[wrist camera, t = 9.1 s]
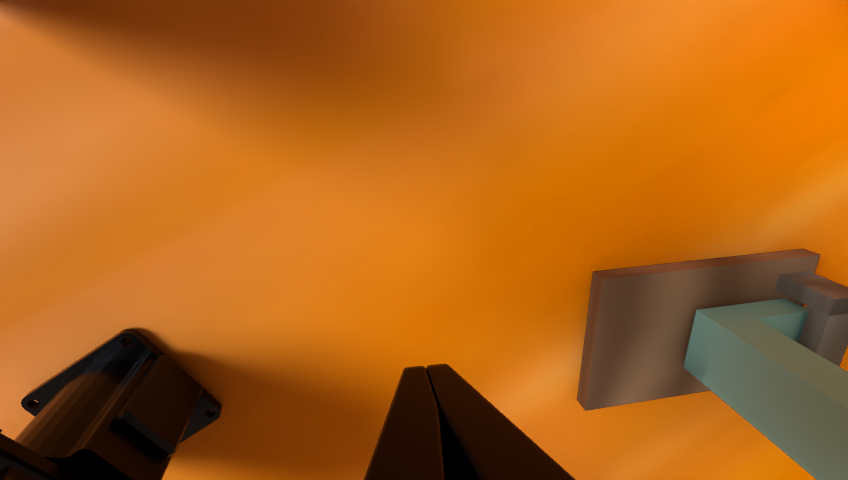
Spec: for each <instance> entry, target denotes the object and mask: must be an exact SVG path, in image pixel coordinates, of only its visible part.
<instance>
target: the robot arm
mask: <svg viewBox="0 0 848 480" xmlns="http://www.w3.org/2000/svg"><path fill="white" fill-rule="evenodd" d="M125 338H130V339H131V340H132V341H133V342H128V341H126V339H125ZM34 400H36V401H38V402H36V401H34ZM21 405H22V407H23V408H24V409H25V410H26V411H28V412H29V413H31V414H32V415H34V416H35V418H34V419H33V420H32V421H31V422H30V423H29V424H28V426H27V427H26V428H25V429H24V430H23V431H22V432H21V433H20V434H19V435H18V437H17V438H16V439H15V440H12V439H10V438H8V437H6V436H5V435H3V434H1V431H2V430H1V429H0V480H162V478H163V476H164V473H165V471H166V469H167V467H168V464H169V462H170V460H171V458H172V456H173V454H174V453H175V452H176V450H177V447H178V445H179V443H181V442H182V441H184V440H185V439H187V438H189V437H190V436H192V435H193V434H195V433H196V432H198V431H199V430H201V429H203V428H204V427H206V426H207V425H209V424H210V423H212V422H213V421H215V420H216V419H218V418H219V416H220V414H221V411H222V405H221V404H220V403H219V402H218V401H217V400H216V399H215V398H214V397H212V396H211V395H210V394H209V393H208V392H207V391H206V390H205V389H203V388H202V386H201V385H199V384H198V383H197V382H196V381H195V380H194V379H193V378H192V377H190V376H189V375H188V374H187V373H186V372H185V371H184V370H182V369H181V368H180V367H179V366H178V365H177V364H176V363H174V362H173V361H172V360H171V359H170V358H169V357H167V356H166V355H165V354H164V353H162V352H161V351H160V350H159V349H158V348H157V347H156V346H154V345H153V344H152V343H151V342H150V341H149V340H148V339H147V338H145V337H144V336H143V335H142V334H141V333H140V332H138V331H137V330H134V329H125V330H123V331H121V332H120V333H118V334H117V335H115V336H114V337H112V338H111V339H109V340H107V341H106V342H104V343H103V344H101V345H100V346H98V347H97V348H95V349H94V350H92V351H91V352H89V353H88V354H86V355H85V356H83V357H82V358H80V359H79V360H77V361H76V362H74V363H73V364H71V365H70V366H68V367H67V368H65V369H64V370H62V371H61V372H59V373H58V374H56V375H55V376H53V377H52V378H50V379H49V380H47V381H46V382H44V383H43V384H41V385H40V386H38V387H37V388H35V389H34V390H32V391H31V392H29V393H28V394H27V395H26V396H25V397H24V398H23V399H22V402H21ZM208 410H213V411H214V412H210V411H208ZM364 480H575V479H574V478H573V477H572V476H571V475H570V474H569V473H568V472H566V471H565V470H564V469H563V468H562V467H561V466H560V465H559V464H558V463H556V462H555V461H554V460H553V459H552V458H551V457H550V456H549V455H548V454H546V453H545V452H544V451H543V450H542V449H541V448H540V447H539V446H538V445H536V444H535V443H534V442H533V441H532V440H531V439H530V438H529V437H528V436H526V435H525V434H524V433H523V432H522V431H521V430H520V429H519V428H518V427H517V426H515V425H514V424H513V423H512V422H511V421H510V420H509V419H508V418H507V417H505V416H504V415H503V414H502V413H501V412H500V411H499V410H498V409H497V408H495V407H494V406H493V405H492V404H491V403H490V402H489V401H488V400H487V399H485V398H484V397H483V396H482V395H481V394H480V393H479V392H478V391H477V390H475V389H474V388H473V387H472V386H471V385H470V384H469V383H468V382H467V381H466V380H464V379H463V378H462V377H461V376H460V375H459V374H458V373H457V372H456V371H454V370H453V369H452V368H451V367H450V366H449V365H447V364H436V365H428V366H427V367H426V368H425V367H424V366H415V367H406V368H404V370H403V372H402V375H401V378H400V380H399V383H398V386H397V389H396V391H395V394H394V397H393V400H392V403H391V405H390V408H389V411H388V414H387V416H386V419H385V422H384V425H383V427H382V430H381V433H380V436H379V439H378V441H377V444H376V447H375V450H374V452H373V455H372V458H371V461H370V464H369V466H368V469H367V472H366V475H365V477H364Z"/></svg>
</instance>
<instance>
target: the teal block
mask: <svg viewBox="0 0 848 480" xmlns="http://www.w3.org/2000/svg"><path fill="white" fill-rule="evenodd" d="M809 310H810V306H808V307H801V306H799V305H797V304H795V303H793V302H791V301H789V300H787V299H785V298H784V299H776V300H769V301H761V302H753V303H745V304H738V305H730V306H722V307H714V308H707V309H699V310H696V314H695V318H694V323H693V327H692V332H691V336H690V340H689V345H688V349H687V353H686V358H685V362H684V368H685V369H686V370H687V371H689V372H690V373H691V374H692V375H693V376H695V377H696V378H697V379H698V380H699V381H700V382H702V383H703V384H704V385H705V386H706V387H708V388H709V389H710V390H711V391H712V392H713V393H715V394H716V395H717V396H718V397H719V398H721V399H722V400H723V401H724V402H725V403H727V404H728V405H729V406H730V407H731V408H732V409H734V410H735V411H736V412H737V413H738V414H740V415H741V416H742V417H743V418H744V419H745V420H747V421H748V422H749V423H750V424H751V425H753V426H754V427H755V428H756V429H757V430H758V431H760V432H761V433H762V434H763V435H764V436H766V437H767V438H768V439H769V440H770V441H772V442H773V443H774V444H775V445H776V446H777V447H779V448H780V449H781V450H782V451H783V452H785V453H786V454H787V455H788V456H789V457H790V458H792V459H793V460H794V461H795V462H796V463H798V464H799V465H800V466H801V467H802V468H803V469H805V470H806V471H807V472H808V473H809V474H811V475H812V476H813V477H814V478H815V479H816V480H848V372H847V371H846V370H844V369H842V368H840V367H839V366H837V365H835V364H833V363H832V362H830V361H828V360H827V359H825V358H823V357H821V356H820V355H818V354H816V353H814V352H813V351H811V350H809V349H808V348H806V347H804V346H802V345H801V344H799V343H798V342H799V339H800V337H801V334H802V331H803V328H804V325H805V322H806V319H807V316H808V313H809Z"/></svg>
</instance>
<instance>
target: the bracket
mask: <svg viewBox="0 0 848 480" xmlns="http://www.w3.org/2000/svg"><path fill="white" fill-rule="evenodd" d="M819 257H820V255H819V254H816V253H814V252H811V251H808V250H805V249H797V250H788V251H778V252H769V253H760V254H751V255H742V256H732V257H723V258H714V259H705V260H696V261H686V262H677V263H668V264H659V265H650V266H640V267H631V268H622V269H613V270H604V271H594V272H593V276H592V284H591V292H590V300H589V308H588V316H587V324H586V332H585V340H584V348H583V356H582V364H581V372H580V380H579V388H578V396H577V400H578V402H579V403H580V404H581V406H582V407H583V408H584V410H585V411H587V410H593V409H599V408H605V407H611V406H618V405H624V404H630V403H636V402H642V401H648V400H654V399H661V398H667V397H673V396H679V395H685V394H691V393H697V392H704V391H710V389H709V388H708V387H706V386H705V385H704V384H703V383H702V382H700V381H699V380H698V379H697V378H696V377H695V376H693V375H692V374H691V373H690V372H689V371H687V370H686V369H685V368H684V362H685V358H686V353H687V349H688V345H689V340H690V336H691V332H692V327H693V323H694V318H695V314H696V310H699V309H707V308H714V307H722V306H730V305H738V304H745V303H753V302H761V301H769V300H776V299H784V298H785V299H787V300H789V301H791V302H793V303H795V304H797V305H799V306H801V307H803V306H804V304H806V305H808V306H810V310H809V313H808V316H807V319H806V322H805V325H804V328H803V331H802V334H801V337H800V339H799V342H798V343H799V344H801V345H802V346H804V347H806V348H808V349H809V350H811V351H813V352H814V353H816V354H818V355H820V356H821V357H823V358H825V359H827V360H828V361H830V362H832V363H833V364H835V365H837V366H840V363H841V361H842V358H843V356H844V353H845V350H846V348H847V345H848V287H845V286H843V285H841V284H838V283H836V282H833V281H831V280H829V279H826V278H824V277H821V276H819V275H816V274H814V273H815V270H816V266H817V263H818V260H819Z"/></svg>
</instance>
